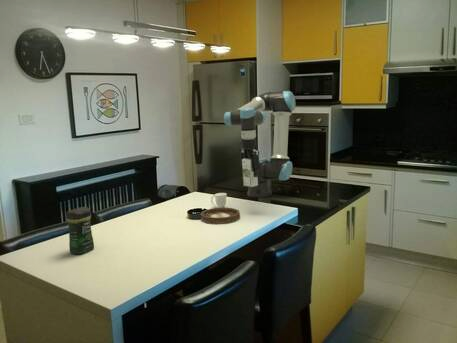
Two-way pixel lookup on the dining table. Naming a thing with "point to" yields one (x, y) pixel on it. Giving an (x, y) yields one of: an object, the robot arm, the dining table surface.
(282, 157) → the robot arm
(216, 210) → the round tray
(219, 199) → the cup
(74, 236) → the coffee jar
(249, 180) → the syrup box
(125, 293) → the dining table surface
